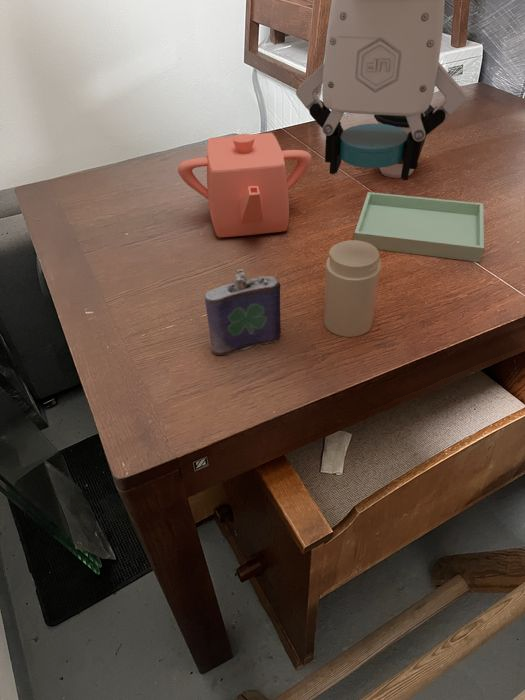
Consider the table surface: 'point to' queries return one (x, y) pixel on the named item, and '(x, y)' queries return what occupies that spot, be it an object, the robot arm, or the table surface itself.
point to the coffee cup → (402, 123)
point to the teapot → (246, 183)
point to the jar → (351, 288)
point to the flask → (243, 313)
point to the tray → (422, 226)
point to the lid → (372, 145)
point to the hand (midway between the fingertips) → (369, 170)
